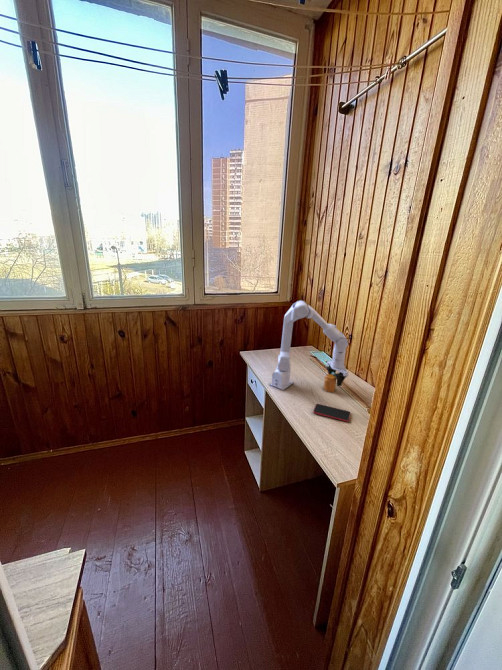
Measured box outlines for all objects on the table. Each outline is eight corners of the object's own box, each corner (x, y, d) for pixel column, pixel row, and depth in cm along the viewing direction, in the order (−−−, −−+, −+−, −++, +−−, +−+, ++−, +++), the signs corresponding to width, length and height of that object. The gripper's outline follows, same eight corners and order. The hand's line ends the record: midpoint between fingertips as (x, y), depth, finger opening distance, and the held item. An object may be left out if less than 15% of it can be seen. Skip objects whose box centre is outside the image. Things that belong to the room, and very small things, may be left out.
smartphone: (348, 421, 122) (312, 411, 127) (348, 422, 122) (312, 413, 127) (350, 411, 128) (316, 403, 134) (350, 413, 128) (316, 404, 134)
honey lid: (337, 379, 151) (339, 377, 151) (342, 381, 145) (344, 379, 145) (328, 373, 151) (329, 371, 151) (333, 374, 145) (334, 372, 145)
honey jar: (333, 393, 144) (334, 380, 142) (322, 390, 147) (323, 377, 145) (336, 388, 149) (337, 375, 147) (325, 385, 152) (326, 372, 149)
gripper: (354, 363, 140) (351, 388, 144) (336, 351, 152) (333, 375, 157) (342, 365, 137) (339, 390, 142) (324, 353, 150) (322, 377, 155)
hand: (335, 382), depth 149 cm, fingers closed on honey lid, 6 cm apart
